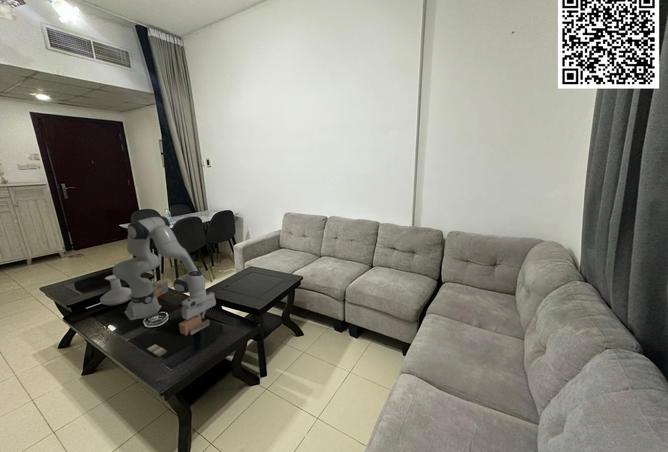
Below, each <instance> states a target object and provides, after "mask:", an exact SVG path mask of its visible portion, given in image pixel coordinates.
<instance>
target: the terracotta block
mask: <svg viewBox="0 0 668 452" xmlns="http://www.w3.org/2000/svg"><path fill="white" fill-rule="evenodd" d="M202 322H203V321H202V319H201V317H199V316H194V317H192V318H190V319H188V320H186V319H184V320H182V321H181V322H180V323H178V326H179V332H180V334H181V335H183V336H188V335H190V332H189V330H190V329H192V328H194V327H195V326H197V325H199V324H201V323H202Z"/></svg>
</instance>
